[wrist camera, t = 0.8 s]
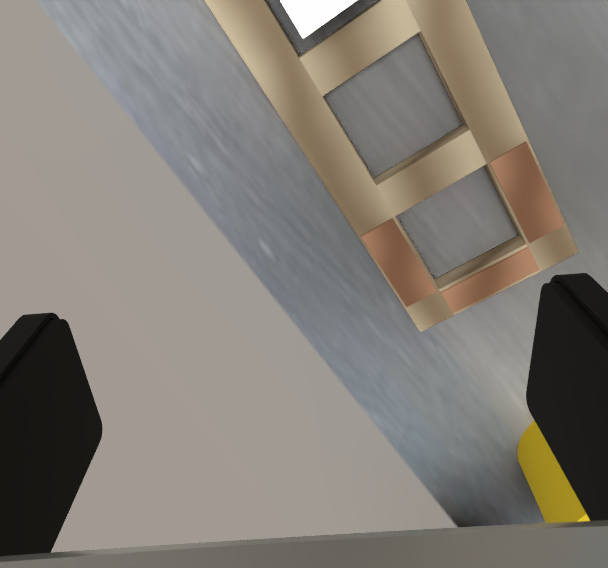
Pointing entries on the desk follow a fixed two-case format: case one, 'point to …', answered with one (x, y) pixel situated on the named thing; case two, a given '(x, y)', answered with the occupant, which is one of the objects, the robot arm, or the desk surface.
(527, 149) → the hole rail
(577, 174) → the desk surface
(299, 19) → the steel block
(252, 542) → the robot arm
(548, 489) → the tape roll
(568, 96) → the desk surface
